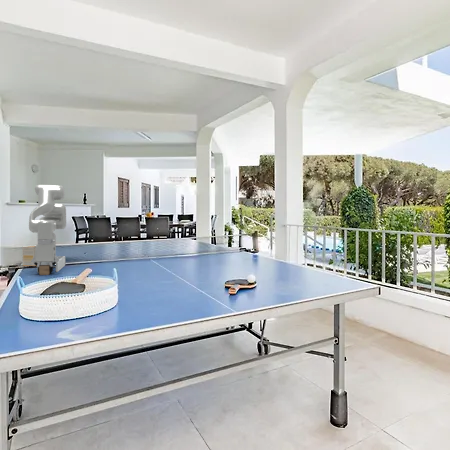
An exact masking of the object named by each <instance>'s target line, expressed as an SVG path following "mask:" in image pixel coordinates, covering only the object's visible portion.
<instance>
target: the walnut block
mask: <svg viewBox="0 0 450 450" xmlns="http://www.w3.org/2000/svg"><path fill="white" fill-rule="evenodd" d="M49 267H50V265H41V266H39V272H38V275H39V276H50V275H51V274H50V268H49Z"/></svg>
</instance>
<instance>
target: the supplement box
mask: <svg viewBox="0 0 450 450" xmlns="http://www.w3.org/2000/svg"><path fill="white" fill-rule="evenodd" d="M21 249H22V253H21V254H22V255H21V256H22V267H23V266H36V265H35V264H34V263H32V262H31V260H32V259H33V258H34V257H35V251H36V245H25V246H22V247H21ZM36 267H37V266H36Z"/></svg>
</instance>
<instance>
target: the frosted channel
mask: <svg viewBox="0 0 450 450" xmlns="http://www.w3.org/2000/svg"><path fill="white" fill-rule="evenodd" d="M56 257H57V258H58V259H59V261H58V262H57V263H56V266H53V268H55V272H56V273H58V272H59V271H60V270H61V269H63V268H64V267H65V266H66V255H65V256H64V255H63V256H61V255H59V256H58V255H56ZM55 261H56V260H54V261H53V262H55ZM37 263H38V262H37ZM41 265H50V263H49V262H41ZM36 269H37V270H36V272H37V274H39V272H38V267H37V266H36Z"/></svg>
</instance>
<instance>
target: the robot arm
mask: <svg viewBox="0 0 450 450" xmlns="http://www.w3.org/2000/svg"><path fill="white" fill-rule="evenodd" d="M34 191H35V194H36V195H37V197H38V201H37V202H38V203H37V206H36V207H35V208H34V209H33V210H31V213H30V214H29V219H28V230H29V231H30V233H35V234H36V233H37V244H35V246H36V251H35V257H34V258H33V259H32V260H31V262H32V263H34V264H35V265H36V268H37V267H38V273H39V266H41V262H49V263H50V267H49V268H50V274H49V275H51V274H52V273H53V272H54V267H53V265H55V264H56V263H57V262H58V261H59V259H58V258H57V257H56V256H57V254H56V253H57V251H56V247H57V246H56V245H57V242H56V239H57V238H56V234H55V231H56V230H64V229H66V227H67V208H66V207H67V206H66V205H65V204H64V203H61V202H55V201H62V200H64V198H65V188H64V186H63V185H60V184H59V185H57V184H42V183H41V184H40V183H39V184H36V185H35V187H34ZM39 216H41V217H40V218H39V219H37V218H38V217H39ZM54 260H56V261H55V262H53V261H54ZM37 262H38V263H37Z"/></svg>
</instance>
